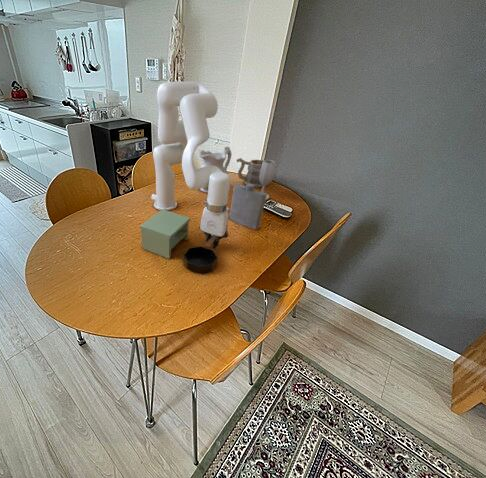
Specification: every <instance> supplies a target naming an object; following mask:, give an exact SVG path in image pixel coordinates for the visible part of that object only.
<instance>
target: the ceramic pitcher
mask: <svg viewBox="0 0 486 478" xmlns="http://www.w3.org/2000/svg"><path fill="white" fill-rule="evenodd" d="M198 151H199V152H198V156H199V157H198V158H200V159H202V160H203V164H202V166H200V167H199V168H202V167H208V166H217V167H218V168H219V169H220V170H221V171H222V172H223V173H226V174H228V175H229V176H230V174H229V172H228V167H229V165H230V163H231V159H232V150H231V147H230V146H225V147H224V149H223V151H222V152H211V151H210V150H207V151H205V149H200V150H198ZM224 163H225V164H224ZM199 191H200V192H204V193H207V194H208V187H206V188H201V189H199Z"/></svg>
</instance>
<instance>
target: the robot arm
mask: <svg viewBox="0 0 486 478" xmlns="http://www.w3.org/2000/svg"><path fill="white" fill-rule="evenodd" d="M156 101H157V107H158V123H157V140H158V142H159V143H160V144H161V145H157V146H156V147H154V149H153V151H152V157H153V162H154V163H153V164H154V168H155V194H154V193H153V194H151V197H150V200H152V201H154V202H153V207H154V208H155V209H156V210H159V211H160V210H166V211H173V210H175V209H176V208H177V207H178V202H177V201H176V200H175V184H176V183H175V181H176V180H175V179H176V178H175V176H176V174H175V171H174V170H173V169H172V168H171V166H174V165H178V164H181V169H182V174H183V177H184V181H185V184H186V186H187V188H189V189H190V190H193V191H196V190H200V189H201V188H206V187H208V193H207V197H206V199H204V200H203V204H205V207H204V208H203V211H202V215H201V218H200V219H201V220H200V224H199V225H200V226H199V227H198V229H199V230H200V231H201V232H203V234H204V236H205V243H206V242H207V241H208V240H209V239H210V238H211V237H212V235H216V238H215V240H214V244H213V245H212V249H216V247H218V246H219V243H220V240H222V239H227V238H229V236H230V234H229V230H228V228H229V211H228V210H227V209H226V208H227V207H228V201H229V194H230V188H231V175H230V174H229V173H228V174H229V175H228V174H226V173H223V172H222V171H221V170H220V169H219V168H218V167H217V166H208V167H202V166H201V167H202V168H200V167H198V168H195V163H194V154H195V152H196V150H197V148H198V147H200V146H202V145H203V144H204V143H205V142H207V141H209V139H210V136H211V134H210V130H209V126H208V121H207V119H212V118H215V116H216V115H217V113H218V109H219V105H218V100H217V98H216V95H214V93H213V92H212V91H210V90H209V89H208V88H207V87H206V86H205V85H204V84H202V83H200V81H199V82H198V81H167V82H163V83H161V84H159V86H158V88H157V92H156ZM178 107H179V108H178ZM179 111H180V112H179ZM180 114H181V118H182V119H181V120H179V117H180Z"/></svg>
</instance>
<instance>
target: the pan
mask: <svg viewBox="0 0 486 478" xmlns="http://www.w3.org/2000/svg"><path fill="white" fill-rule="evenodd" d="M211 235H212V237H211V238H210V239H209V240H208V241H207V242H206V241H205V244H204V245H199V246H193V247H189V248H187V250H186V251H184V253H183V257H182V259H183V263H184V266H185V268H186V269H187V270H188V271H190V272H192V273H195V274H207V273H210V272H212V271H213V270H214V269H215V268H216V265H217V264H218V255H217V254H216V253H215V251H214V249H213V244H214V240H215V238H216V235H213V234H211Z"/></svg>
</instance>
